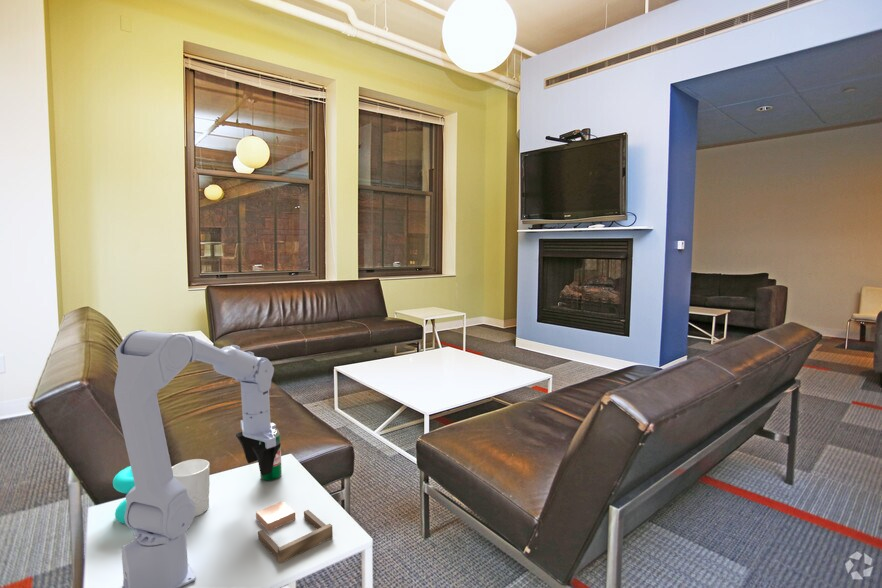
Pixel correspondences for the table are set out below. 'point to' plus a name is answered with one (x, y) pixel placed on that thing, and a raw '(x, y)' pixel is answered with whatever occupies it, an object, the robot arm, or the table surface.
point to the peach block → (275, 515)
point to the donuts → (123, 490)
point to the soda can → (277, 461)
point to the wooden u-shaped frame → (301, 543)
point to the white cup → (194, 482)
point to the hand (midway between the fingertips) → (259, 467)
